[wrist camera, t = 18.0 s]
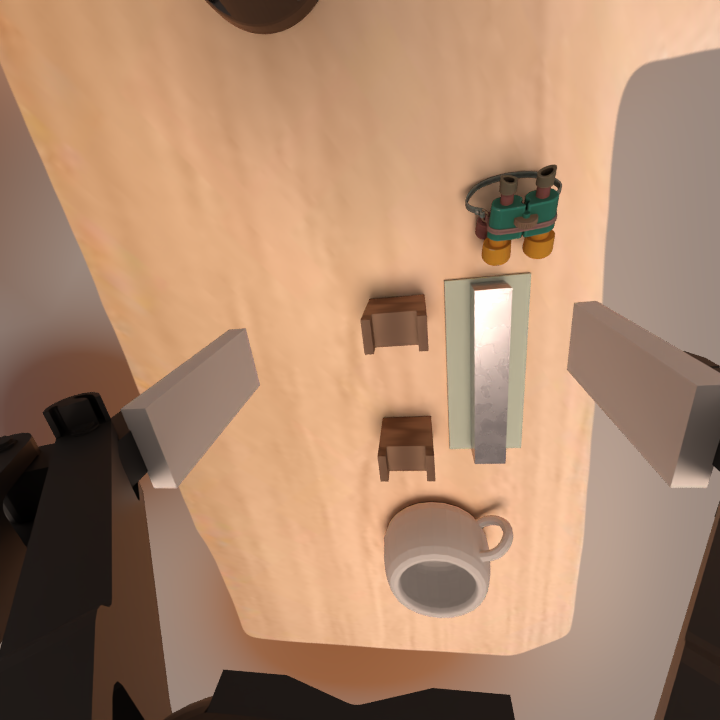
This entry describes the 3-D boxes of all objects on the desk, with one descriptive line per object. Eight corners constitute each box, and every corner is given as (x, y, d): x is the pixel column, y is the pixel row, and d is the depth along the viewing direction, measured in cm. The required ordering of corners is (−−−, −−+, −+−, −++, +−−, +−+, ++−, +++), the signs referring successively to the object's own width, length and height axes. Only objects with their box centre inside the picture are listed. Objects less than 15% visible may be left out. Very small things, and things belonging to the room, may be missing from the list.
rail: (470, 445, 54) (474, 463, 51) (469, 283, 45) (474, 291, 42) (499, 445, 54) (505, 463, 50) (504, 280, 44) (512, 287, 41)
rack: (385, 440, 57) (380, 481, 48) (369, 299, 48) (360, 320, 40) (432, 439, 55) (435, 481, 47) (424, 294, 47) (426, 315, 39)
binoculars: (461, 217, 45) (474, 276, 39) (460, 139, 37) (477, 198, 32) (544, 201, 43) (570, 260, 37) (560, 117, 36) (596, 174, 30)
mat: (449, 447, 56) (449, 449, 55) (444, 280, 46) (444, 281, 45) (520, 445, 54) (521, 447, 54) (530, 272, 44) (531, 273, 44)
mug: (421, 578, 68) (422, 637, 59) (365, 519, 64) (357, 573, 55) (530, 536, 61) (551, 595, 52) (475, 466, 57) (487, 518, 48)
